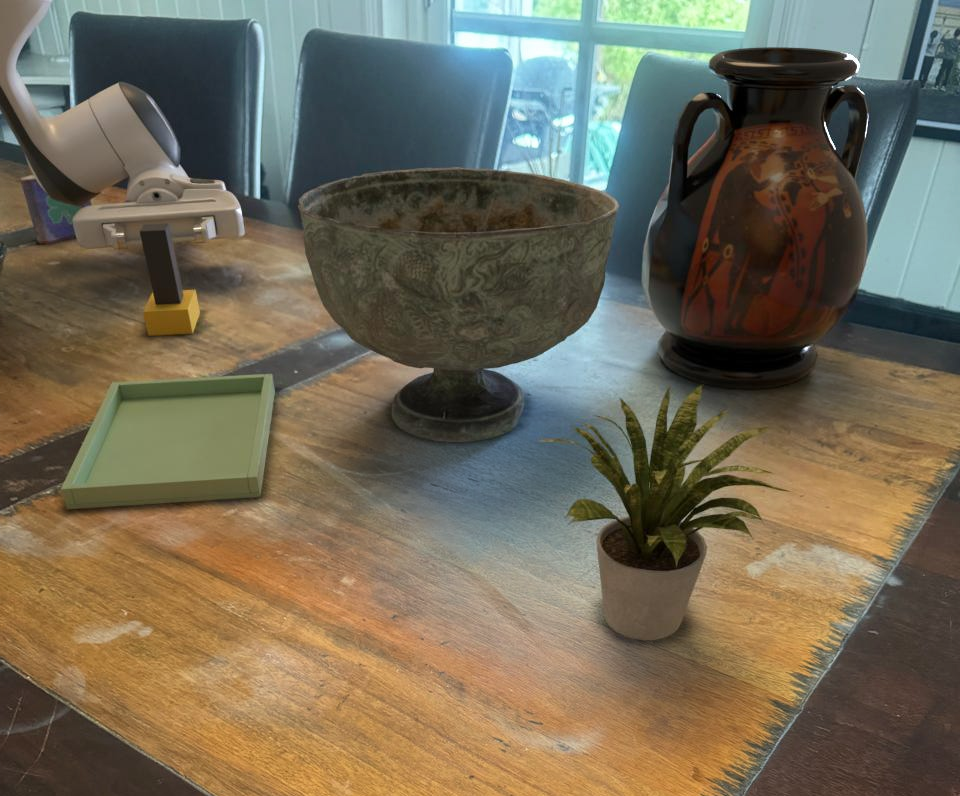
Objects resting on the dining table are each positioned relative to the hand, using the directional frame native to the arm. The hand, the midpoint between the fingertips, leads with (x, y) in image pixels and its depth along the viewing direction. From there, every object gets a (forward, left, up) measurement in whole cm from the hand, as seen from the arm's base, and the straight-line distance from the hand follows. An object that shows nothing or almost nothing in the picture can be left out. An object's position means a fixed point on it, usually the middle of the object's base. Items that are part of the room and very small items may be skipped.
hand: (160, 239), depth 112 cm
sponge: (+1, -8, -8) cm, 11 cm away
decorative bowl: (+32, -36, -8) cm, 49 cm away
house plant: (+40, -72, -8) cm, 83 cm away
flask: (-20, +32, -8) cm, 38 cm away
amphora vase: (+62, -28, -8) cm, 69 cm away
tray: (+6, -40, -8) cm, 41 cm away
